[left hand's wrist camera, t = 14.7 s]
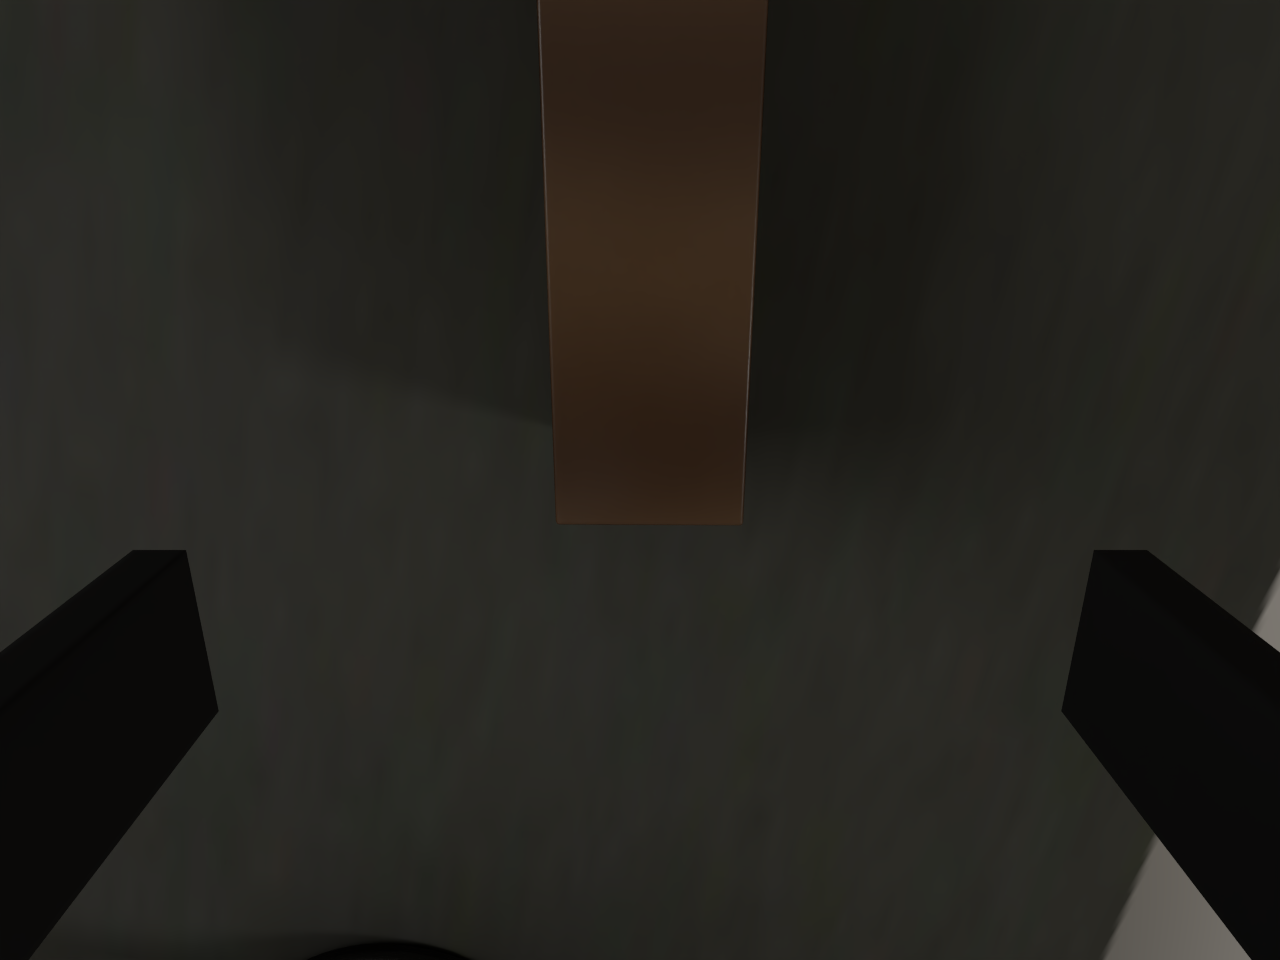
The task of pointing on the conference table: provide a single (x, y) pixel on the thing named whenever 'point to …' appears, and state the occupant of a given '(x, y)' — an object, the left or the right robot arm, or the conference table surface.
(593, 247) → the bar
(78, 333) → the conference table surface
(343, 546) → the conference table surface
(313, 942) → the conference table surface
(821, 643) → the conference table surface
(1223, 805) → the left robot arm
